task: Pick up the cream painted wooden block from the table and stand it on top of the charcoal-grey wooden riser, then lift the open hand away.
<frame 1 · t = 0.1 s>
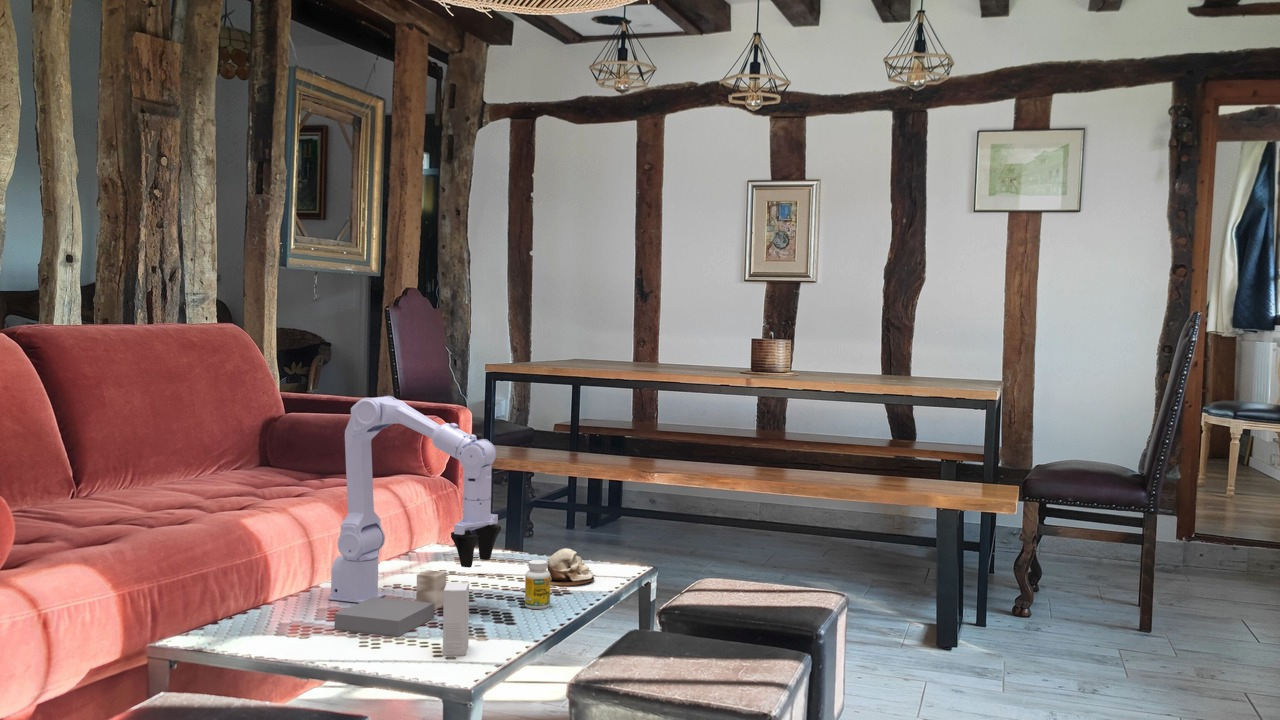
hand: (475, 563, 214), 10 cm above the table, fingers open, 7 cm apart
riser block: (385, 623, 203), on the table
cream block: (431, 606, 217), on the table
skincare box: (455, 652, 187), on the table
supplement bottle: (537, 607, 219), on the table
skull: (568, 582, 242), on the table
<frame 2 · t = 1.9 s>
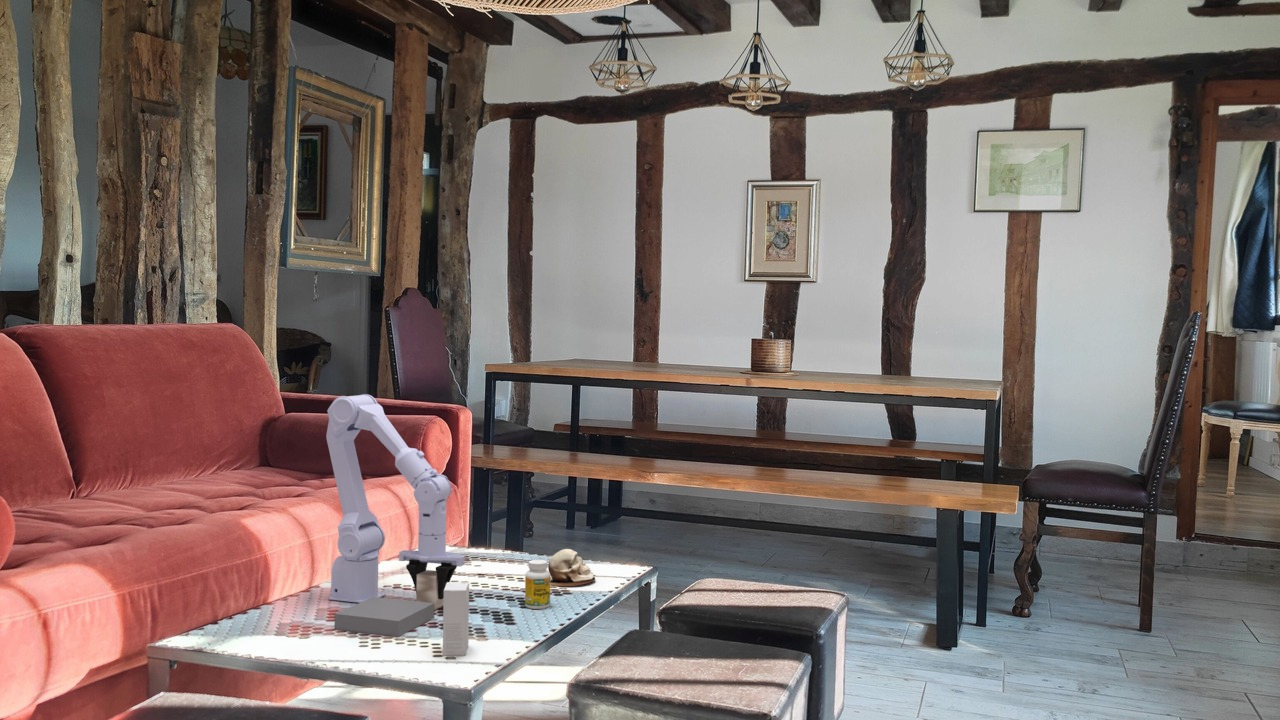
hand: (431, 596, 217), 2 cm above the table, fingers closed on cream block, 4 cm apart
cream block: (430, 605, 217), on the table, touching gripper
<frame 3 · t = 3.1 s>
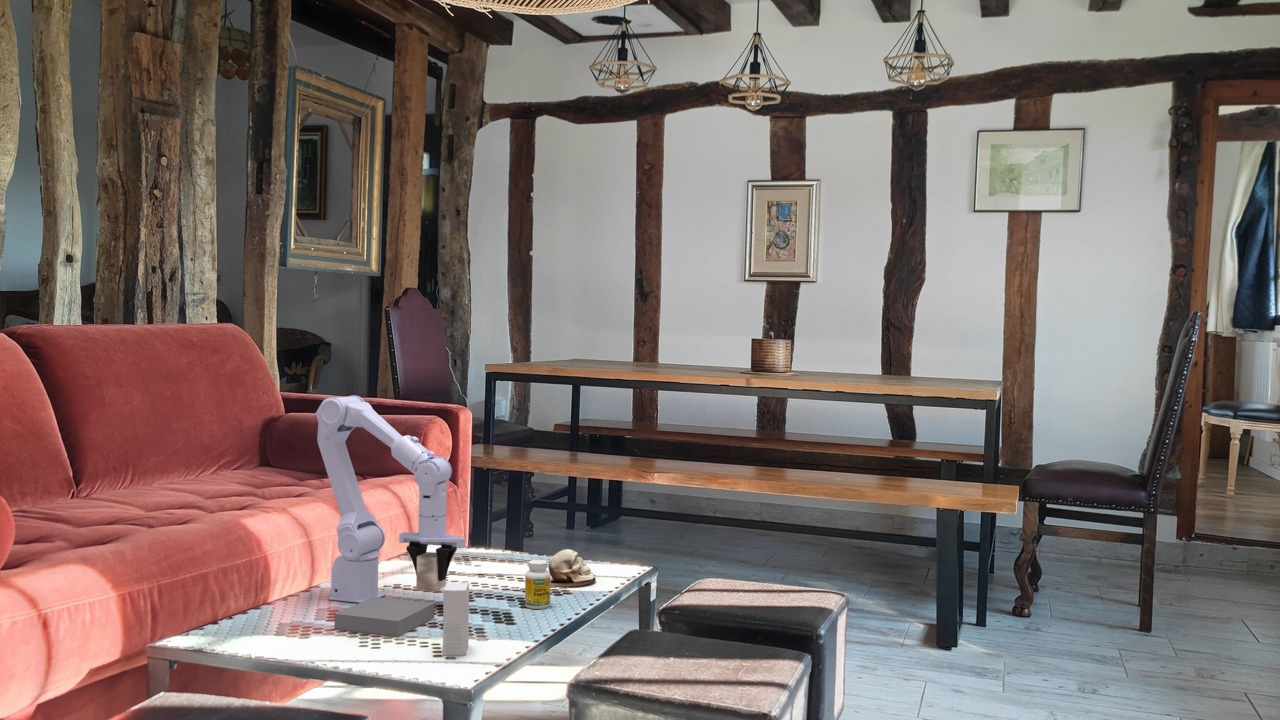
hand: (431, 578, 217), 6 cm above the table, fingers closed on cream block, 4 cm apart
cream block: (431, 587, 217), point 4 cm above the table, touching gripper
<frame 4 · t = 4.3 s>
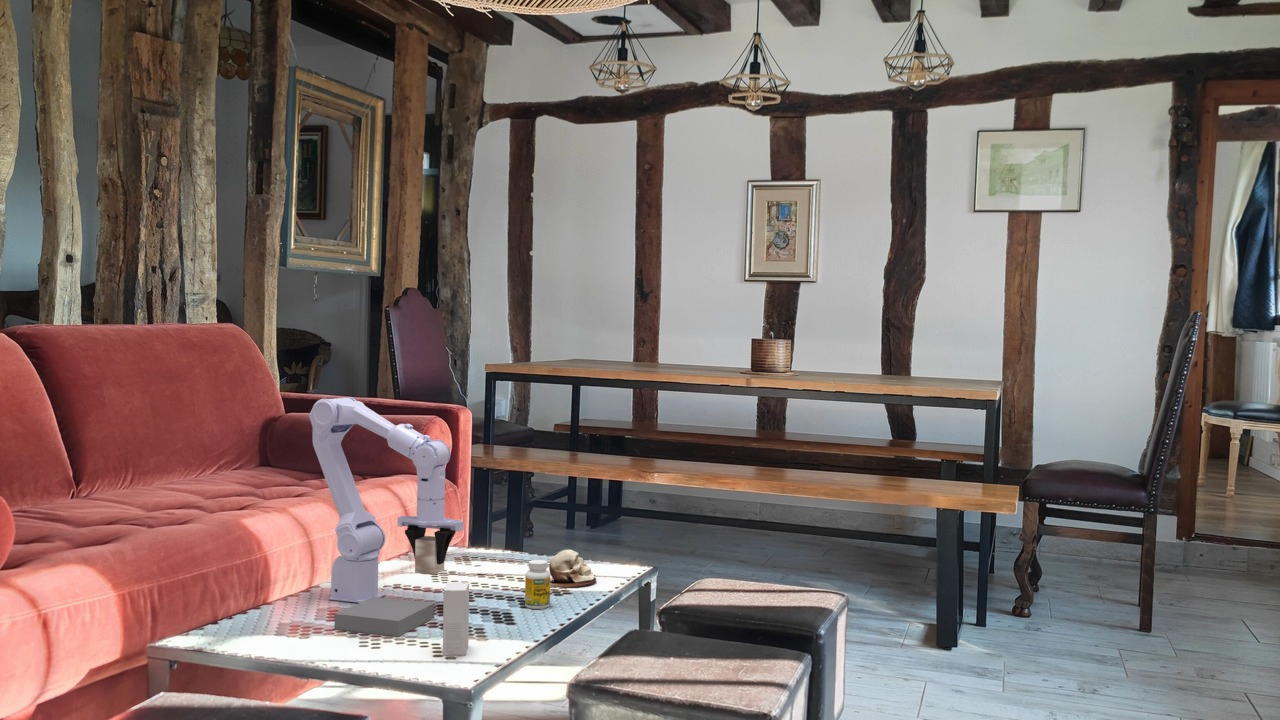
hand: (429, 562, 216), 9 cm above the table, fingers closed on cream block, 4 cm apart
cream block: (429, 571, 217), point 7 cm above the table, touching gripper
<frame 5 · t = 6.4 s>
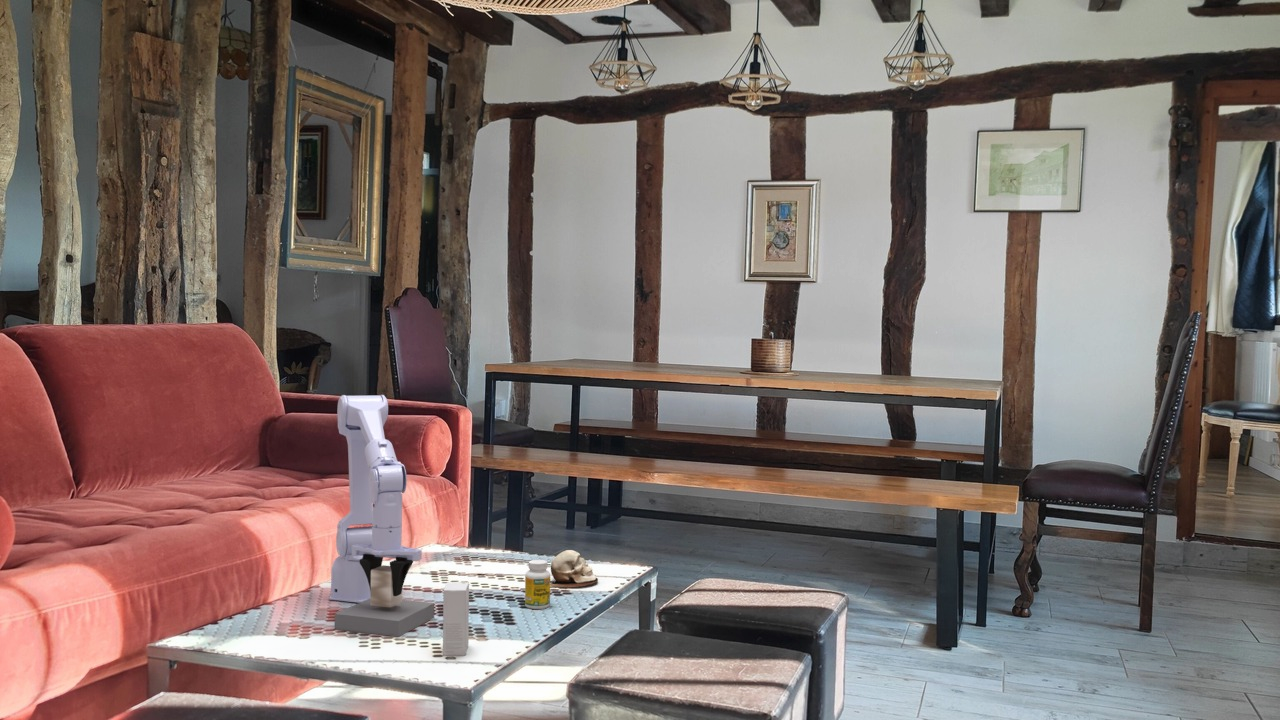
hand: (385, 593, 203), 6 cm above the table, fingers closed on cream block, 4 cm apart
cream block: (386, 603, 204), point 4 cm above the table, touching gripper
when the fingers open (6 cm above the table, at t = 6.6 s): cream block stays where it is, resting on riser block.
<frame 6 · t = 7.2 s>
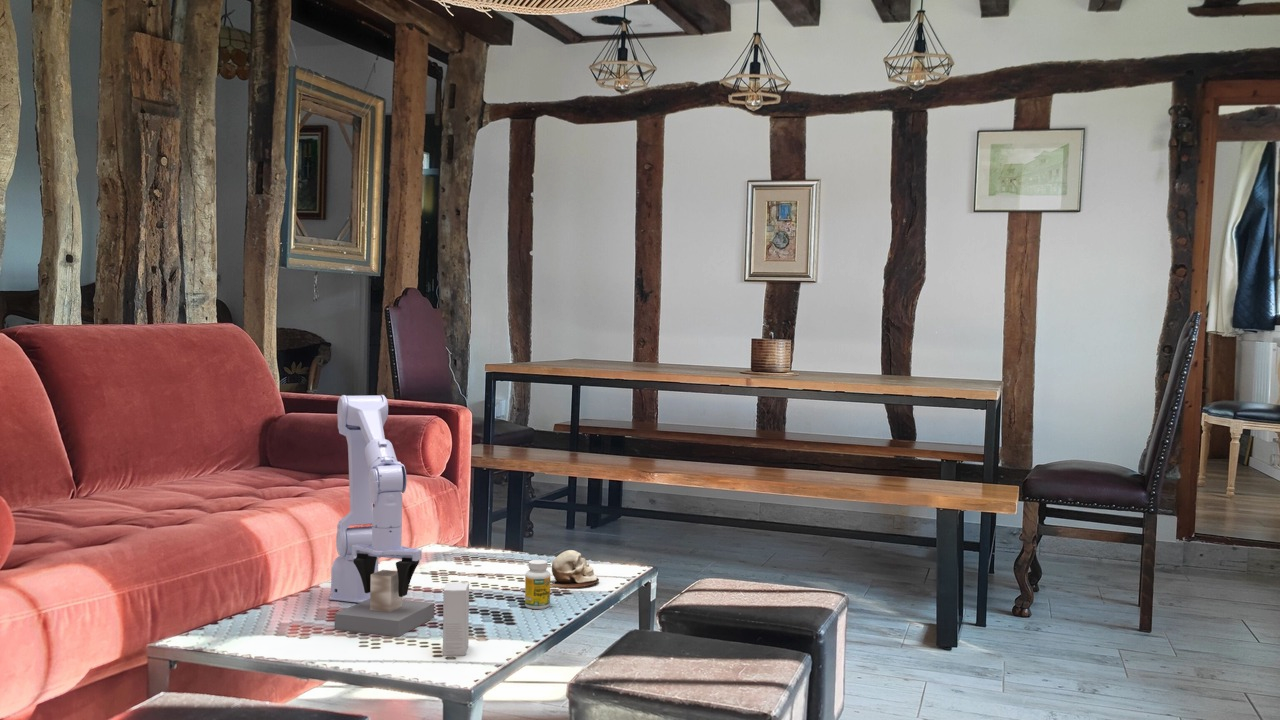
hand: (385, 593, 203), 6 cm above the table, fingers open, 7 cm apart
cream block: (386, 608, 204), point 3 cm above the table, touching riser block
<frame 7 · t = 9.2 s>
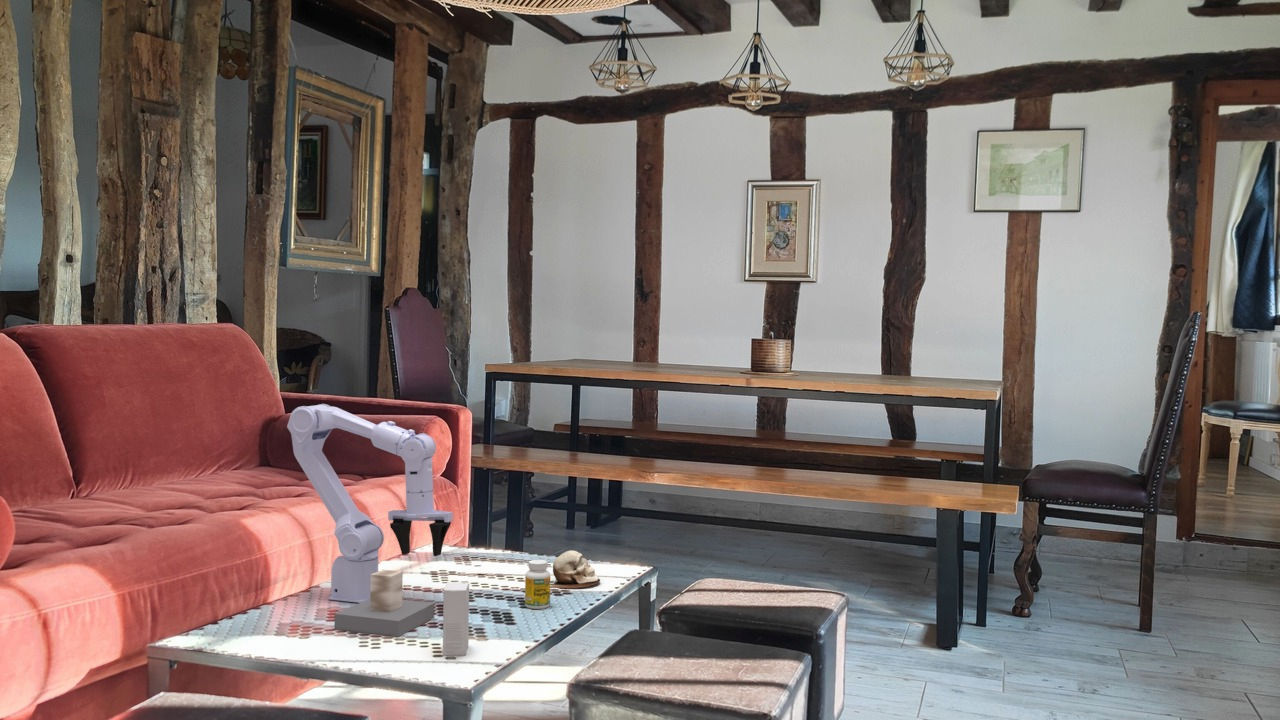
hand: (421, 554, 219), 10 cm above the table, fingers open, 7 cm apart
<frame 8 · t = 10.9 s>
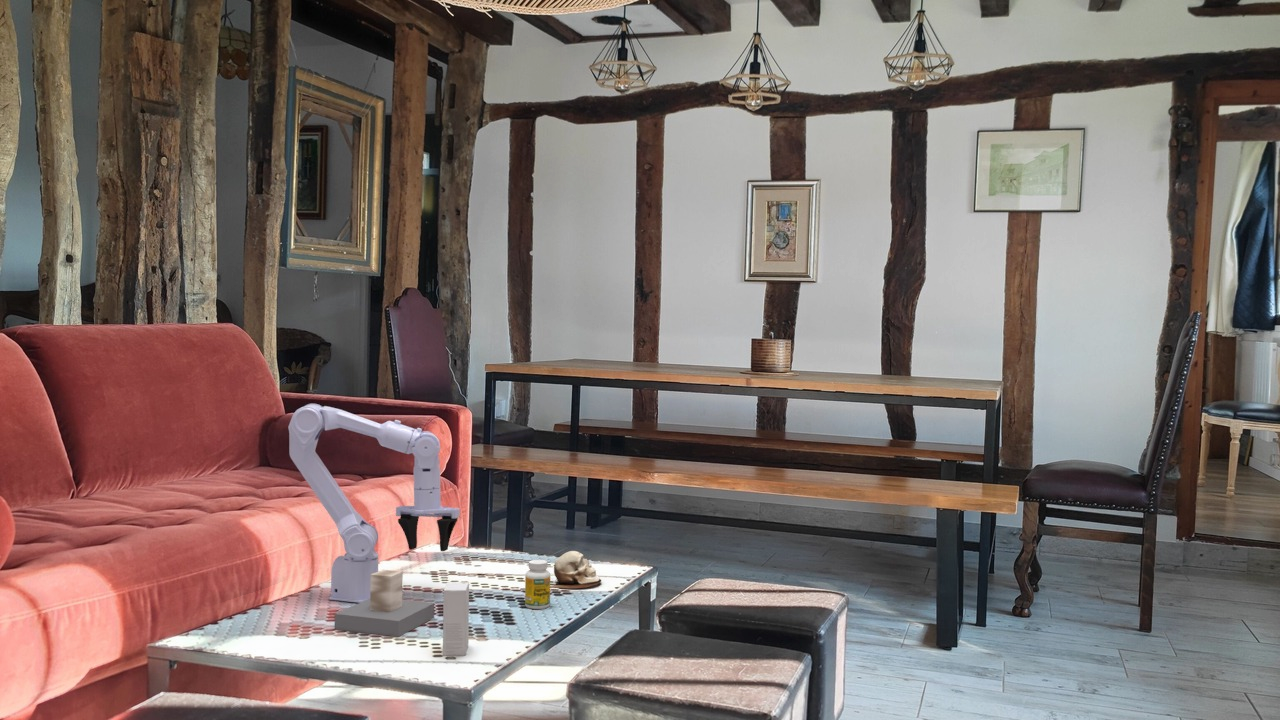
hand: (428, 549, 224), 10 cm above the table, fingers open, 7 cm apart
at the end: cream block touching riser block; cream block tilted 0° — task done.
